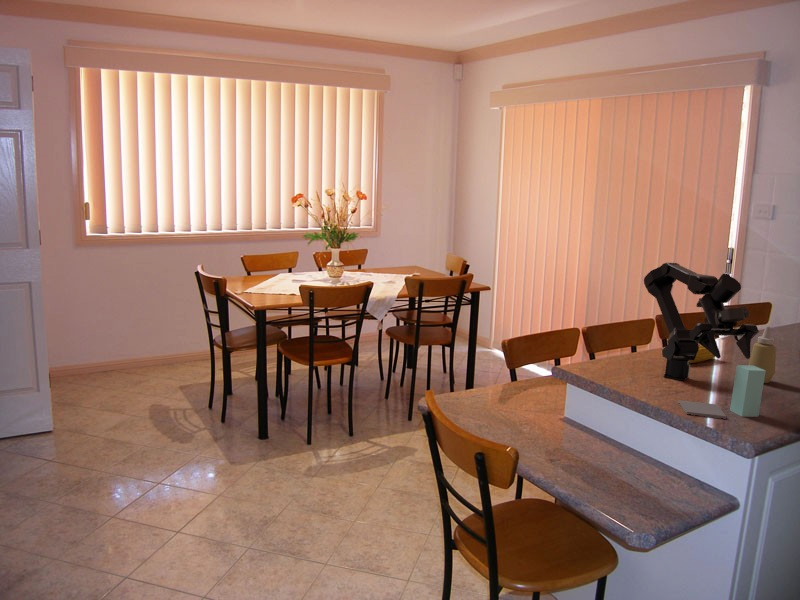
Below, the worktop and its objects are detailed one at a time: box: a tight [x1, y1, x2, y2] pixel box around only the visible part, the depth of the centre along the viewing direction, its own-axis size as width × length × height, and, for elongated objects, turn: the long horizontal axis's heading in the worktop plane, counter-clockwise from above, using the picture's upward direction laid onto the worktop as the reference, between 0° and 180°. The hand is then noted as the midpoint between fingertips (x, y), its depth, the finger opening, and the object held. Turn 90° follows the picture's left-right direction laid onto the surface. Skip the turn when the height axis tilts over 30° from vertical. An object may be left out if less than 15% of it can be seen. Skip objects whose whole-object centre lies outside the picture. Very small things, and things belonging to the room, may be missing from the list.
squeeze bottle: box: [748, 326, 777, 384], centre depth 216 cm, size 8×8×18 cm
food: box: [689, 344, 716, 364], centre depth 238 cm, size 21×6×6 cm, turn 127°
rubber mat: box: [678, 399, 727, 420], centre depth 184 cm, size 10×10×1 cm
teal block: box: [729, 364, 766, 418], centre depth 182 cm, size 5×5×13 cm
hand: (734, 358), depth 188 cm, fingers open, 9 cm apart
